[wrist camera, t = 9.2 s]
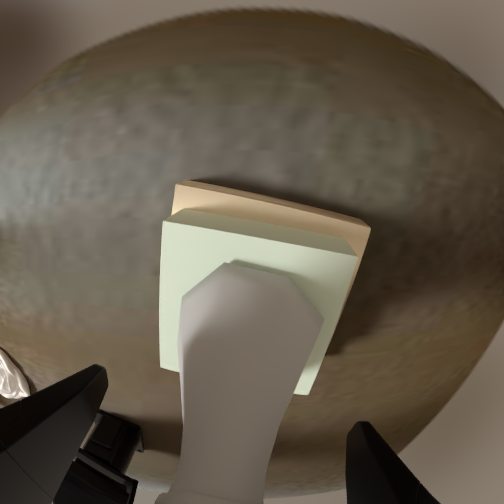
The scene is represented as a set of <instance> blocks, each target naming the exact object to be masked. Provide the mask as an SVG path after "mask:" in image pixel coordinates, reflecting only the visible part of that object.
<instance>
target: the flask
mask: <svg viewBox="0 0 504 504" xmlns="http://www.w3.org/2000/svg"><path fill="white" fill-rule="evenodd" d="M323 322H324V318H323V317H322V316H321V314H320V313H319V312H318V311H317V310H316V309H315V307H314V306H313V305H312V304H311V303H310V302H309V301H308V299H307V298H306V297H305V296H304V295H303V294H302V292H301V291H300V290H299V289H298V288H297V287H296V286H295V284H294V283H293V282H292V281H291V280H290V279H289V278H288V277H286V276H281V275H277V274H273V273H268V272H264V271H260V270H256V269H251V268H247V267H243V266H239V265H235V264H230V263H226V262H224V263H223V264H222V265H220V266H219V267H218V268H217V269H215V270H214V271H213V272H212V273H210V274H209V275H208V276H207V277H205V278H204V279H203V280H202V281H200V282H199V283H198V284H197V285H196V286H194V287H193V288H192V289H191V290H189V291H188V292H187V293H186V294H184V295H183V296H182V301H181V310H180V320H179V330H178V361H179V372H180V382H181V400H182V415H183V435H182V445H181V455H180V459H179V462H178V466H177V469H176V473H175V476H174V480H173V483H172V486H171V488H170V490H169V492H168V493H162V494H160V495H159V496H158V498H157V499H156V501H155V504H263V496H264V487H265V478H266V469H267V466H268V463H269V460H270V456H271V453H272V449H273V446H274V442H275V439H276V435H277V432H278V428H279V425H280V422H281V420H282V418H283V416H284V414H285V411H286V409H287V407H288V405H289V402H290V400H291V398H292V396H293V393H294V391H295V389H296V386H297V384H298V381H299V379H300V377H301V374H302V372H303V369H304V367H305V365H306V363H307V360H308V358H309V356H310V354H311V351H312V349H313V347H314V344H315V342H316V340H317V337H318V335H319V333H320V330H321V327H322V324H323Z"/></svg>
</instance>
